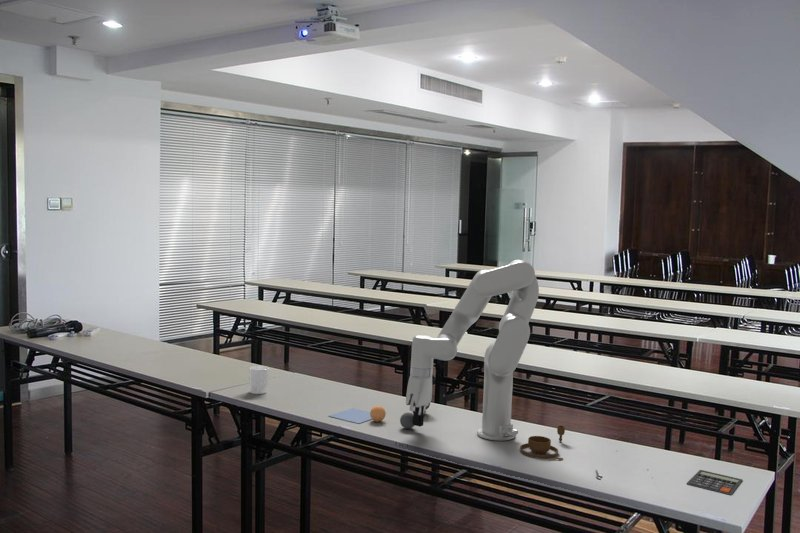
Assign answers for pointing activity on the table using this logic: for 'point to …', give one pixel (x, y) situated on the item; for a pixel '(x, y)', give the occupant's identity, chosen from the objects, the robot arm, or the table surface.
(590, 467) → the table surface
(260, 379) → the white cup
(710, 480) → the calculator
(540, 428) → the table surface
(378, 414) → the orange ball
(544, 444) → the place setting
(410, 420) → the gray ball
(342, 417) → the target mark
